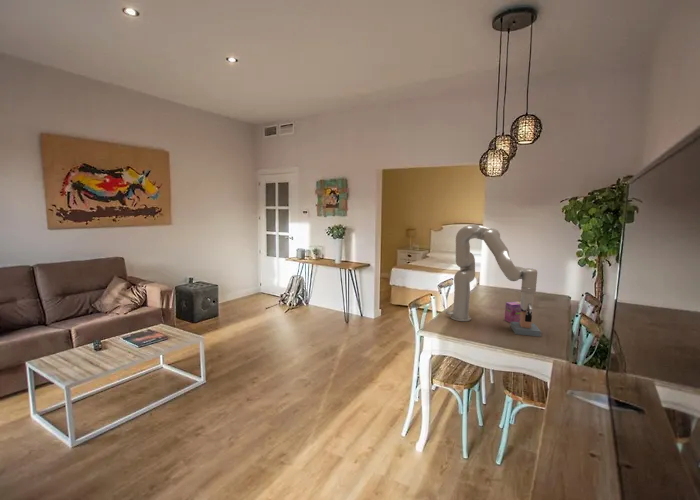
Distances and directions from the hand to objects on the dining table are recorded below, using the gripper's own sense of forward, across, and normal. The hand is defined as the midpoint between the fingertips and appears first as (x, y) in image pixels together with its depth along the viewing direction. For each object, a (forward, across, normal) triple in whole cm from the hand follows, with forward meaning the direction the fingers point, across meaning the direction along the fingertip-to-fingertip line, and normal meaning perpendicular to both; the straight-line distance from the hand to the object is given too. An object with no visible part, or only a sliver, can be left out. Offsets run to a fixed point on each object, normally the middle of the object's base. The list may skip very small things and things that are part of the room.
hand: (525, 319), depth 210 cm
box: (+8, -19, -2) cm, 21 cm away
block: (+4, 0, 0) cm, 4 cm away
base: (+7, 0, 0) cm, 7 cm away
